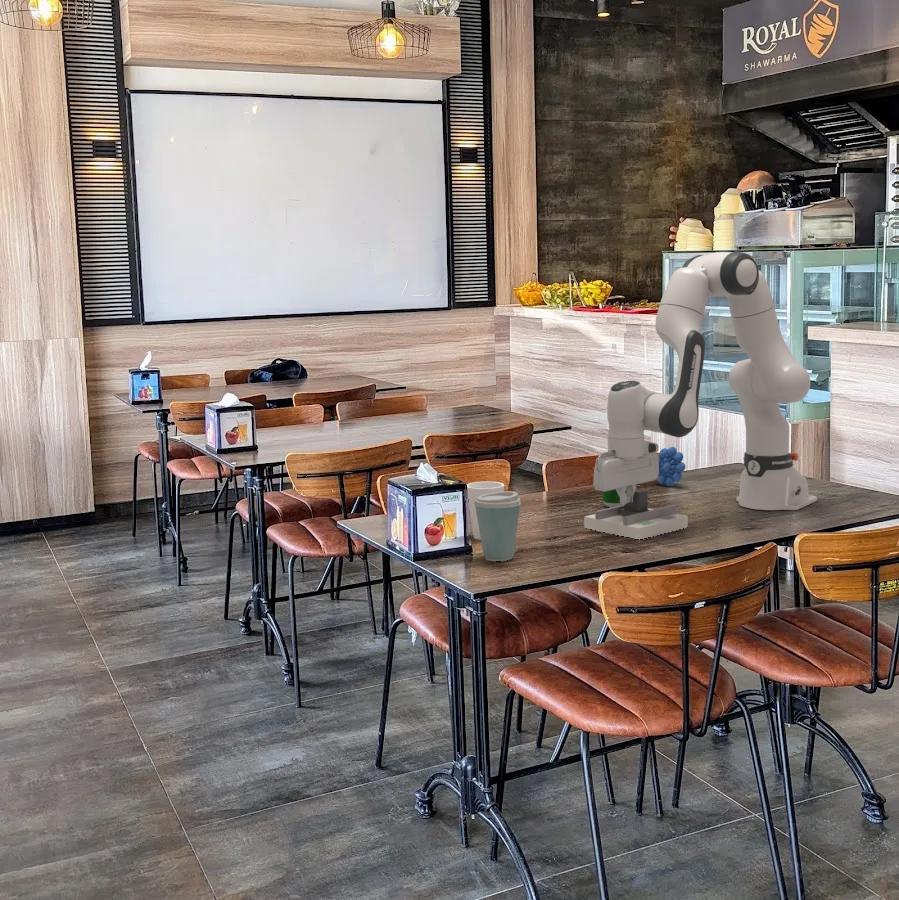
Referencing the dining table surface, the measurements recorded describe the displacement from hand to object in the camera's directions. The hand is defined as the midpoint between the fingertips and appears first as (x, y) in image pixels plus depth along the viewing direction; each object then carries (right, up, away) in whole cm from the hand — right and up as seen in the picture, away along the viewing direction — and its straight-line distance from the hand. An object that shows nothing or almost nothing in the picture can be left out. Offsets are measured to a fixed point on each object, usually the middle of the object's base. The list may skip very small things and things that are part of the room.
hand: (626, 503), depth 273 cm
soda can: (+2, -2, +28) cm, 28 cm away
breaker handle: (+3, -3, +3) cm, 5 cm away
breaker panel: (+3, -6, +3) cm, 8 cm away
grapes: (+22, +2, +53) cm, 57 cm away
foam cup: (-35, -8, -1) cm, 36 cm away
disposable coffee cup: (-32, -12, -21) cm, 40 cm away
